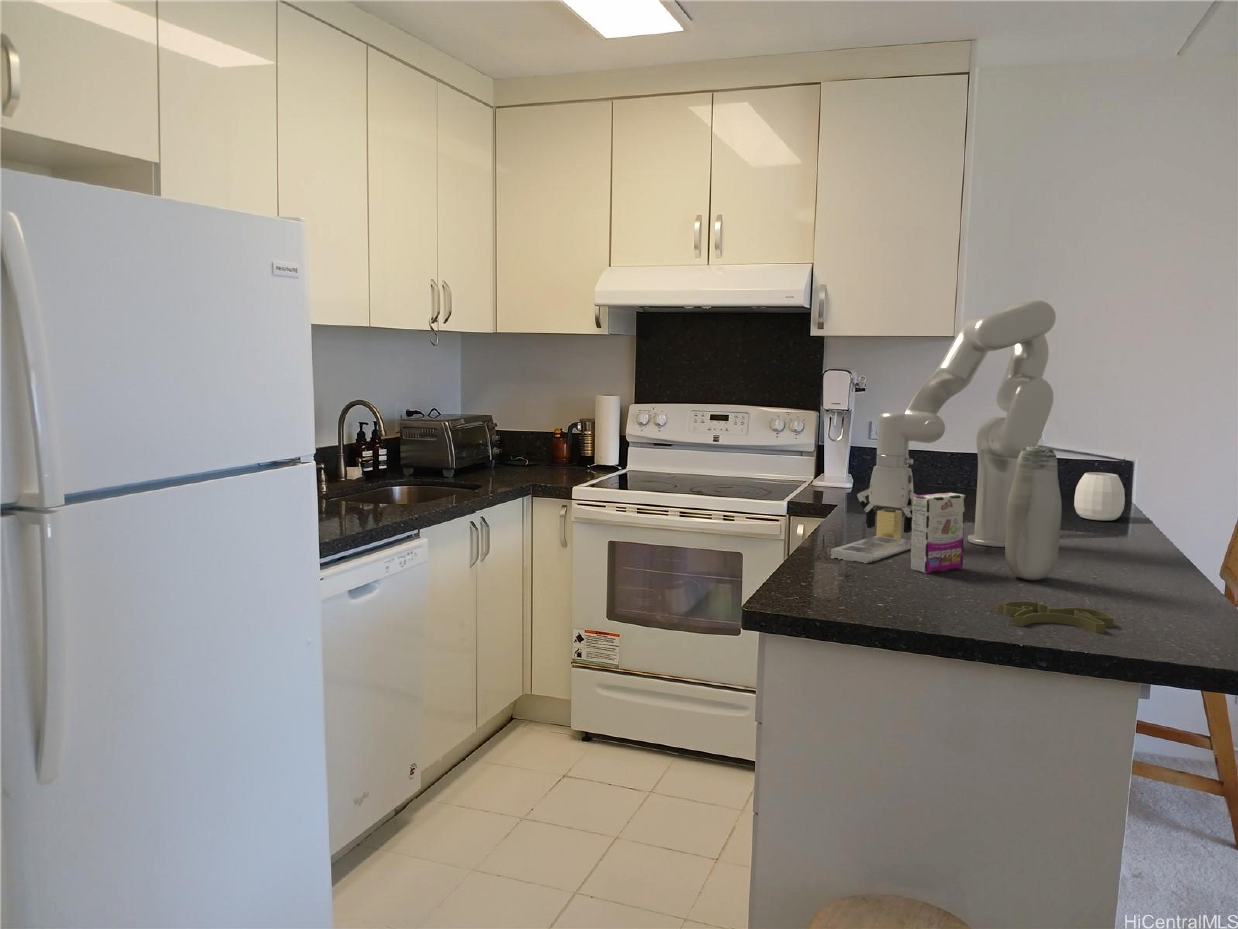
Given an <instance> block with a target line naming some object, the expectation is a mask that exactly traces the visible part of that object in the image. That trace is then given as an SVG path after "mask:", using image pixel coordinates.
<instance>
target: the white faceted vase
mask: <svg viewBox="0 0 1238 929" xmlns="http://www.w3.org/2000/svg"><path fill="white" fill-rule="evenodd" d="M1125 497H1126V496H1125V487H1124V485H1123V482H1122V481H1121V478H1120V477H1119V474H1114V473H1107V472H1094V471H1093V472H1085V473H1084V474H1083V475H1082V477H1081V478H1080V480H1079V481H1078V483H1077V485H1076V487H1075V493H1074V501H1073V502H1074V503H1073V506H1074V509H1075V512H1076V514H1078V516H1079V517H1080V518H1083V519H1086V520H1089V521H1097V522H1107V521H1115V520H1117V519H1118V518H1119V517H1120V516H1121V515H1122V513H1123V511H1124V509H1125V501H1126V498H1125Z"/></svg>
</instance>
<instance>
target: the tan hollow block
mask: <svg viewBox="0 0 1238 929" xmlns="http://www.w3.org/2000/svg"><path fill="white" fill-rule="evenodd" d="M876 512H877V513H876V532H875V533H876V535H875V536H883V537H890V538H898V539H902V521H903V510H899V509H897V508H889V507H886V508H883V509H880V510H877V511H876Z"/></svg>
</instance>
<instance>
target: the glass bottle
mask: <svg viewBox="0 0 1238 929" xmlns="http://www.w3.org/2000/svg"><path fill="white" fill-rule="evenodd" d="M1058 474H1059V473H1058V457H1057V455H1056V452H1055V451H1054V450H1053V449H1052V448H1051V447H1049V446H1047V445H1043V444H1037V445H1031V446H1028V447H1026V448H1024V449H1023V450H1022V451H1021V453H1020V454H1019V457H1018V461H1017V468H1016V473H1015V478H1014V481H1013V484H1012V487H1011V490H1010V494H1009V498H1008V503H1007V517H1006V543H1005V547H1004V548H1005V550H1004V553H1005V561H1006V564H1007V567H1008V569H1009V570H1010V572H1011V573H1012V574H1013V575H1014V576H1016V577H1018V578H1020V579H1023V580H1027V581H1038V580H1042V579H1045V578H1047V577H1048V576H1050V574H1052V573H1053V571H1054V570H1055V568H1056V565H1057V562H1058V558H1059V549H1060V548H1059V547H1060V546H1059V545H1060V533H1061V524H1062V513H1063V512H1062V508H1063V506H1062V505H1063V504H1062V496H1061V490H1060V489H1061V488H1060V484H1059V477H1058Z"/></svg>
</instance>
